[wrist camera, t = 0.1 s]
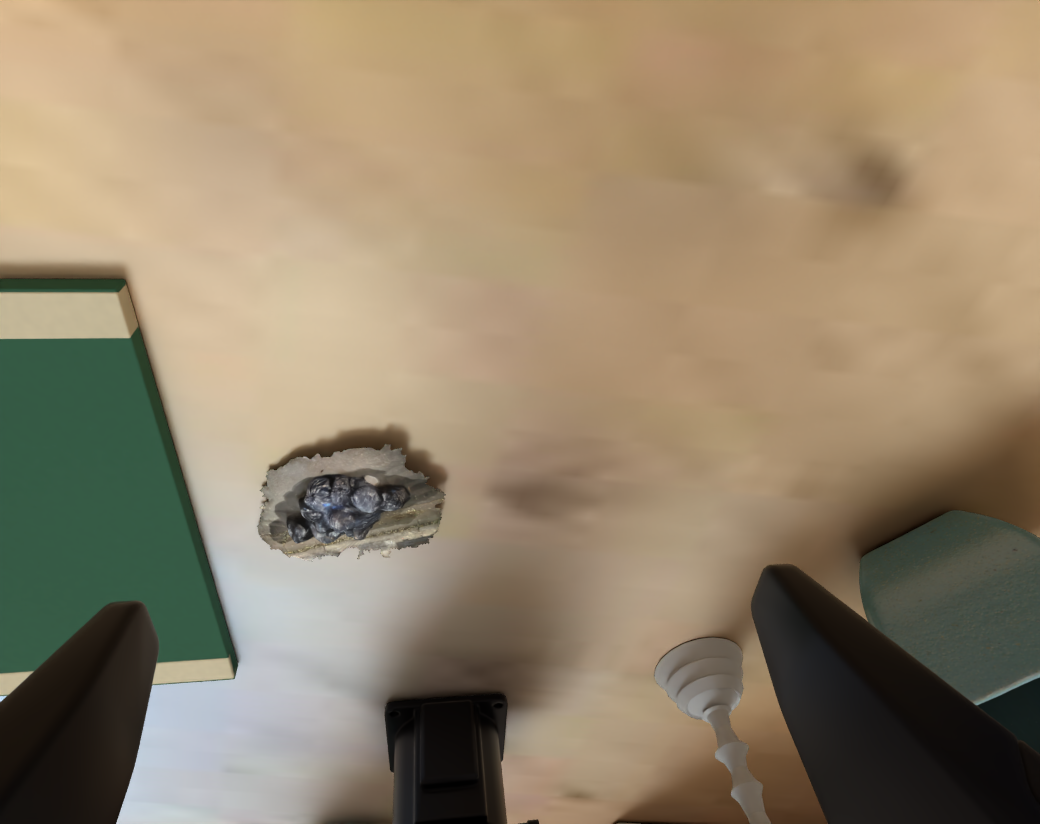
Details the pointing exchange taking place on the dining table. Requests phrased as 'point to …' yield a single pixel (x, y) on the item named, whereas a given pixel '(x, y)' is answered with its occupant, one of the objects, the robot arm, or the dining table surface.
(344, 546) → the blueberries
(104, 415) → the green flat rectangular block
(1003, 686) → the flower pot
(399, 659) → the dining table surface
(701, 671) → the chalice
